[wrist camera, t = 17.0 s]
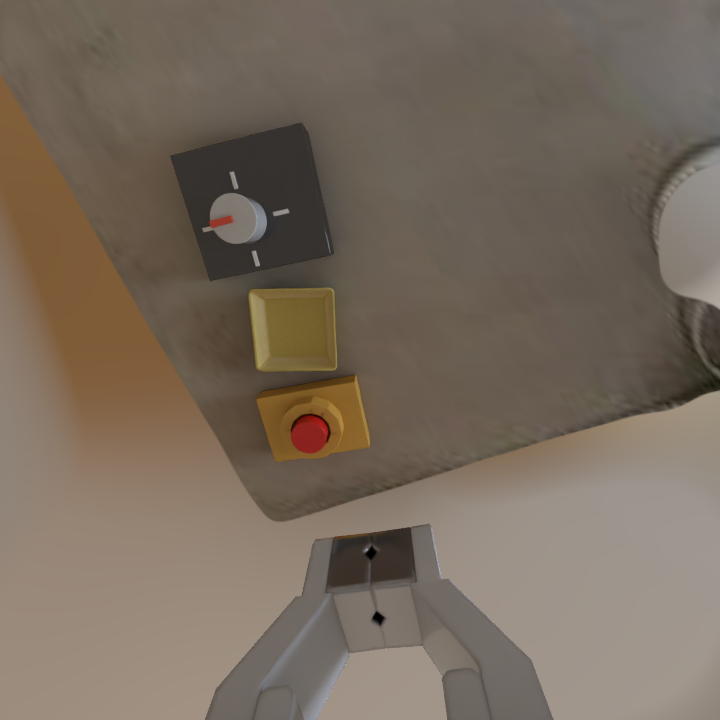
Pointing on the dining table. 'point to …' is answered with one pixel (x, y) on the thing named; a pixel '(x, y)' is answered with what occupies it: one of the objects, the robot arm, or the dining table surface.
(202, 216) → the panel
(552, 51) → the dining table surface
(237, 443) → the dining table surface
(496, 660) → the robot arm
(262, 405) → the yellow button base
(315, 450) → the stop button
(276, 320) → the yellow square tray
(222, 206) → the knob
